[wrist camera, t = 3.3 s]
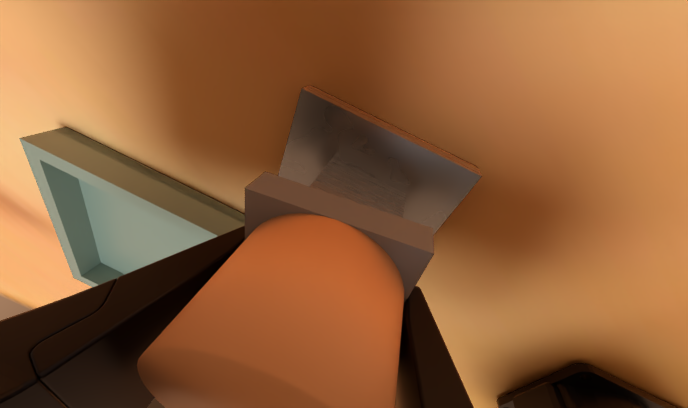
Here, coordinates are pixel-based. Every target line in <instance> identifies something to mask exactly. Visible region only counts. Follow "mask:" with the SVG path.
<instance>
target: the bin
mask: <svg viewBox="0 0 688 408" xmlns="http://www.w3.org/2000/svg"><path fill="white" fill-rule="evenodd" d="M20 141H21V143H22V146H23V149H24V151H25V154H26V156H27V159H28V161H29V164H30V167H31V169H32V172H33V174H34V177H35V179H36V182H37V185H38V187H39V190H40V192H41V195H42V198H43V200H44V203H45V205H46V208H47V210H48V213H49V216H50V218H51V221H52V223H53V226H54V228H55V231H56V234H57V236H58V239H59V241H60V244H61V246H62V249H63V252H64V254H65V257H66V259H67V262H68V264H69V267H70V270H71V272H72V275H73V277H74V278H75V279H77V280H79V281H81V282H83V283H85V284H87V285H89V286H91V287H95V286H97V285H100V284H102V283H105V282H107V281H110V280H112V279H115V278H116V279H118V277H120V276H122V275H125V274H127V273H129V272H132V271H134V270H137V269H139V268H142V267H144V266H146V265H149V264H151V263H154V262H156V261H159V260H161V259H164V258H166V257H168V256H171V255H173V254H176V253H178V252H181V251H183V250H186V249H188V248H190V247H193V246H195V245H198V244H200V243H203V242H205V241H208V240H210V239H212V238H215V237H217V236H220V235H222V234H225V233H227V232H229V231H232V230H234V229H237V228H239V227H242V226H245V215H244V214H242V213H240V212H238V211H236V210H234V209H232V208H230V207H228V206H226V205H224V204H222V203H220V202H218V201H216V200H214V199H212V198H210V197H208V196H206V195H204V194H202V193H200V192H198V191H195V190H193V189H191V188H189V187H187V186H185V185H183V184H181V183H179V182H177V181H175V180H173V179H171V178H169V177H167V176H165V175H163V174H161V173H159V172H157V171H155V170H153V169H151V168H149V167H147V166H145V165H143V164H141V163H138V162H136V161H134V160H132V159H130V158H128V157H126V156H124V155H122V154H120V153H118V152H116V151H114V150H112V149H110V148H108V147H106V146H104V145H102V144H100V143H98V142H96V141H94V140H92V139H90V138H88V137H86V136H84V135H81V134H79V133H77V132H75V131H73V130H71V129H69V128H67V127H64V128H59V129H55V130H51V131H47V132H43V133H39V134H35V135H31V136H26V137H22V138H20Z"/></svg>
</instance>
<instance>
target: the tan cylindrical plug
mask: <svg viewBox="0 0 688 408" xmlns="http://www.w3.org/2000/svg"><path fill="white" fill-rule="evenodd" d="M433 255H434V239H433V228H431V227H428V226H425V225H422V224H419V223H416V222H413V221H410V220H407V219H404V218H401V217H398V216H395V215H392V214H389V213H386V212H383V211H381V210H378V209H375V208H372V207H369V206H366V205H363V204H360V203H357V202H354V201H351V200H348V199H345V198H342V197H339V196H336V195H333V194H330V193H327V192H324V191H321V190H318V189H315V188H312V187H309V186H307V185H304V184H301V183H298V182H295V181H292V180H289V179H286V178H283V177H280V176H277V175H274V174H271V173H268V172H264V173H263V174H262V175H260V176H259V177H258V178H257V179H255V180H254V181H253V182H252V183H251V184H249V185H248V186H247V187H246V188H245V241H244V242H243V243H242V244H241V245H240V246H239V247H238V248H237V250H236V251H235V252H234V253H233V254H232V255H231V256H230V257H229V258H228V260H227V261H226V262H225V263H224V264H223V265H222V266H221V267H220V268H219V270H218V271H217V272H216V273H215V274H214V275H213V276H212V277H211V278H210V280H209V281H208V282H207V283H206V284H205V285H204V286H203V287H202V288H201V290H200V291H199V292H198V293H197V294H196V295H195V296H194V297H193V298H192V299H191V301H190V302H189V303H188V304H187V305H186V306H185V307H184V308H183V309H182V311H181V312H180V313H179V314H178V315H177V316H176V317H175V318H174V319H173V321H172V322H171V323H170V324H169V325H168V326H167V327H166V328H165V329H164V331H163V332H162V333H161V334H160V335H159V336H158V337H157V338H156V339H155V340H154V342H153V343H152V344H151V345H150V346H149V347H148V348H147V349H146V350H145V352H144V353H143V354H142V355H141V356H140V358H139V359H138V363H137V369H138V373H139V376H140V378H141V380H142V382H143V383H144V385H145V386H146V388H147V389H148V390H149V391H150V393H151V394H152V395H153V396H154V397H155V398H156V399H157V400H158V401H159V402H160V403H161V404H162V405H163V406H164V407H165V408H395V401H396V389H397V377H398V365H399V353H400V341H401V329H402V317H403V305H404V303H405V301H406V299H408V297H409V295H410V294H411V292H412V290H413V289H414V287H415V285H416V283H417V282H418V280H419V278H420V277H421V275H422V273H423V272H424V270H425V268H426V267H427V265H428V263H429V261H430V260H431V258H432V256H433Z"/></svg>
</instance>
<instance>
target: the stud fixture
mask: <svg viewBox="0 0 688 408" xmlns="http://www.w3.org/2000/svg"><path fill="white" fill-rule="evenodd" d="M278 176H280V177H283V178H286V179H289V180H292V181H295V182H298V183H301V184H304V185H307V186H309V187H312V188H315V189H318V190H321V191H324V192H327V193H330V194H333V195H336V196H339V197H342V198H345V199H348V200H351V201H354V202H357V203H360V204H363V205H366V206H369V207H372V208H375V209H378V210H381V211H383V212H386V213H389V214H392V215H395V216H398V217H401V218H404V219H407V220H410V221H413V222H416V223H419V224H422V225H425V226H428V227H431V228H433V235H434V234H435V233H436V231H437V230H438V229H439V228H440V227H441V225H442V224H443V223H444V222H445V220H446V219H447V218H448V217H449V216H450V214H451V213H452V212H453V211H454V210H455V208H456V207H457V206H458V205H459V203H460V202H461V201H462V200H463V199H464V197H465V196H466V195H467V194H468V193H469V191H470V190H471V189H472V188H473V186H474V185H475V184H476V183H477V182H478V180H479V179H480V178H481V177H482V176H481V173H480V171H479V168H478V167H476V166H474V165H472V164H470V163H468V162H466V161H464V160H462V159H460V158H458V157H456V156H454V155H452V154H450V153H448V152H446V151H444V150H442V149H440V148H438V147H436V146H433V145H431V144H429V143H427V142H425V141H423V140H421V139H419V138H417V137H415V136H413V135H411V134H409V133H407V132H405V131H403V130H401V129H399V128H397V127H395V126H393V125H391V124H388V123H386V122H384V121H382V120H380V119H378V118H376V117H374V116H372V115H370V114H368V113H366V112H364V111H362V110H360V109H358V108H356V107H354V106H352V105H350V104H348V103H346V102H343V101H341V100H339V99H337V98H335V97H333V96H331V95H329V94H327V93H325V92H323V91H321V90H319V89H317V88H315V87H313V86H311V85H309V86H306V87H304V88H302V89H301V93H300V96H299V100H298V104H297V108H296V111H295V115H294V119H293V122H292V126H291V130H290V133H289V137H288V141H287V144H286V148H285V152H284V155H283V159H282V163H281V166H280V170H279V174H278Z"/></svg>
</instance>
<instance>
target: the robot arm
mask: <svg viewBox="0 0 688 408" xmlns="http://www.w3.org/2000/svg"><path fill="white" fill-rule="evenodd" d="M244 241H245V226H242V227H239V228H237V229H234V230H232V231H229V232H227V233H225V234H222V235H220V236H217V237H215V238H212V239H210V240H208V241H205V242H203V243H200V244H198V245H195V246H193V247H190V248H188V249H186V250H183V251H181V252H178V253H176V254H173V255H171V256H168V257H166V258H164V259H161V260H159V261H156V262H154V263H151V264H149V265H146V266H144V267H142V268H139V269H137V270H134V271H132V272H129V273H127V274H125V275H122V276H120V277H118V279H116V278H115V279H112V280H110V281H107V282H105V283H102V284H100V285H97V286H95V287H92V288H90V289H87V290H85V291H82V292H80V293H77V294H74V295H72V296H69V297H67V298H64V299H61V300H58V301H55V302H53V303H50V304H47V305H44V306H41V307H39V308H36V309H33V310H30V311H27V312H24V313H21V314H19V315H15V316H12V317H10V318H7V319H4V320H1V321H0V408H147V407H148V406H149V404H150V403H151V401H152V400H153V399H154V398H155V397H154V396H153V395H152V394H151V393H150V391H149V390H148V389H147V388H146V386H145V385H144V383H143V382H142V380H141V378H140V376H139V373H138V369H137V363H138V359H139V358H140V356H141V355H142V354H143V353H144V352H145V350H146V349H147V348H148V347H149V346H150V345H151V344H152V343H153V342H154V340H155V339H156V338H157V337H158V336H159V335H160V334H161V333H162V332H163V331H164V329H165V328H166V327H167V326H168V325H169V324H170V323H171V322H172V321H173V319H174V318H175V317H176V316H177V315H178V314H179V313H180V312H181V311H182V309H183V308H184V307H185V306H186V305H187V304H188V303H189V302H190V301H191V299H192V298H193V297H194V296H195V295H196V294H197V293H198V292H199V291H200V290H201V288H202V287H203V286H204V285H205V284H206V283H207V282H208V281H209V280H210V278H211V277H212V276H213V275H214V274H215V273H216V272H217V271H218V270H219V268H220V267H221V266H222V265H223V264H224V263H225V262H226V261H227V260H228V258H229V257H230V256H231V255H232V254H233V253H234V252H235V251H236V250H237V248H238V247H239V246H240V245H241V244H242V243H243V242H244ZM497 405H498V408H677V407H675V406H673V405H671V404H669V403H667V402H665V401H663V400H661V399H659V398H657V397H655V396H652V395H650V394H648V393H646V392H644V391H642V390H640V389H638V388H636V387H634V386H632V385H630V384H628V383H626V382H624V381H622V380H620V379H618V378H616V377H614V376H612V375H610V374H608V373H606V372H604V371H602V370H600V369H597V368H595V367H593V366H591V365H589V364H584V363H578V364H574V365H571V366H569V367H567V368H565V369H563V370H561V371H558V372H556V373H554V374H552V375H550V376H547V377H545V378H543V379H541V380H539V381H536V382H534V383H532V384H530V385H528V386H526V387H523V388H521V389H519V390H517V391H515V392H512V393H510V394H508V395H506V396H504V397H501V398H499V399H498V400H497ZM395 408H474V407H473V405H472V403H471V401H470V398H469V396H468V394H467V392H466V389H465V387H464V385H463V383H462V380H461V378H460V376H459V374H458V372H457V369H456V367H455V365H454V363H453V360H452V358H451V356H450V354H449V351H448V349H447V347H446V345H445V342H444V340H443V338H442V336H441V333H440V331H439V329H438V327H437V325H436V322H435V320H434V318H433V316H432V313H431V311H430V309H429V307H428V304H427V302H426V300H425V298H424V295H423V293H422V291H421V289H420V288H419V287H417V286H415V287H414V289H413V290H412V292H411V294H410V295H409V297H408V299H406V301H405V303H404V305H403V317H402V329H401V341H400V353H399V365H398V377H397V389H396V401H395Z"/></svg>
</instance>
